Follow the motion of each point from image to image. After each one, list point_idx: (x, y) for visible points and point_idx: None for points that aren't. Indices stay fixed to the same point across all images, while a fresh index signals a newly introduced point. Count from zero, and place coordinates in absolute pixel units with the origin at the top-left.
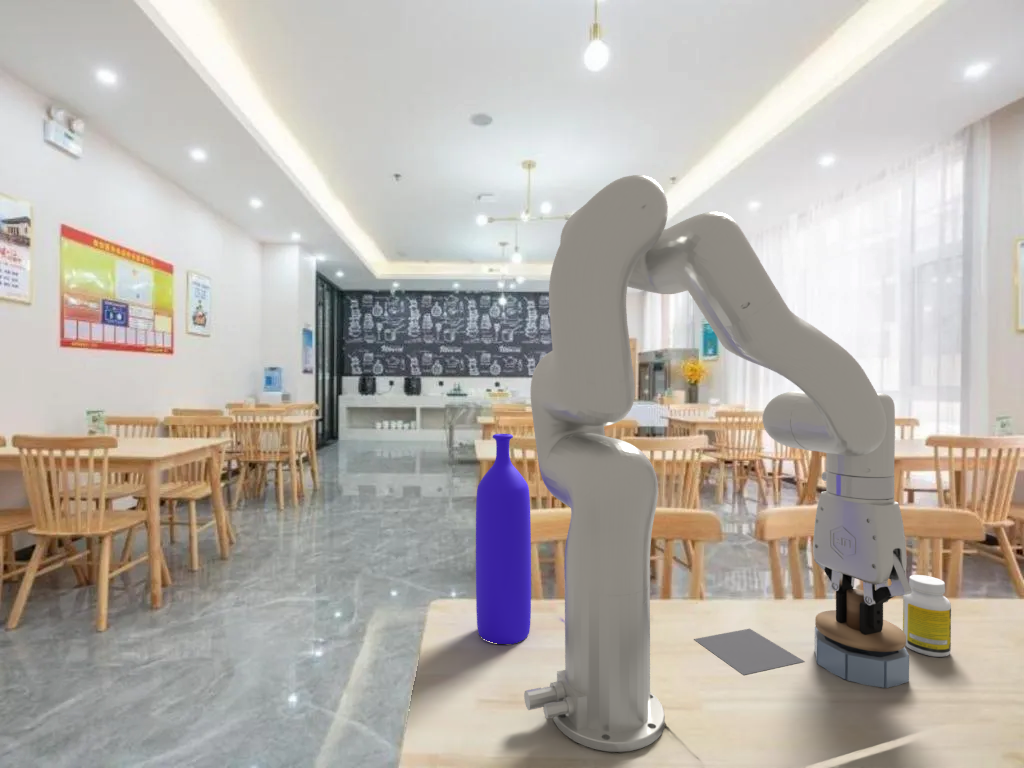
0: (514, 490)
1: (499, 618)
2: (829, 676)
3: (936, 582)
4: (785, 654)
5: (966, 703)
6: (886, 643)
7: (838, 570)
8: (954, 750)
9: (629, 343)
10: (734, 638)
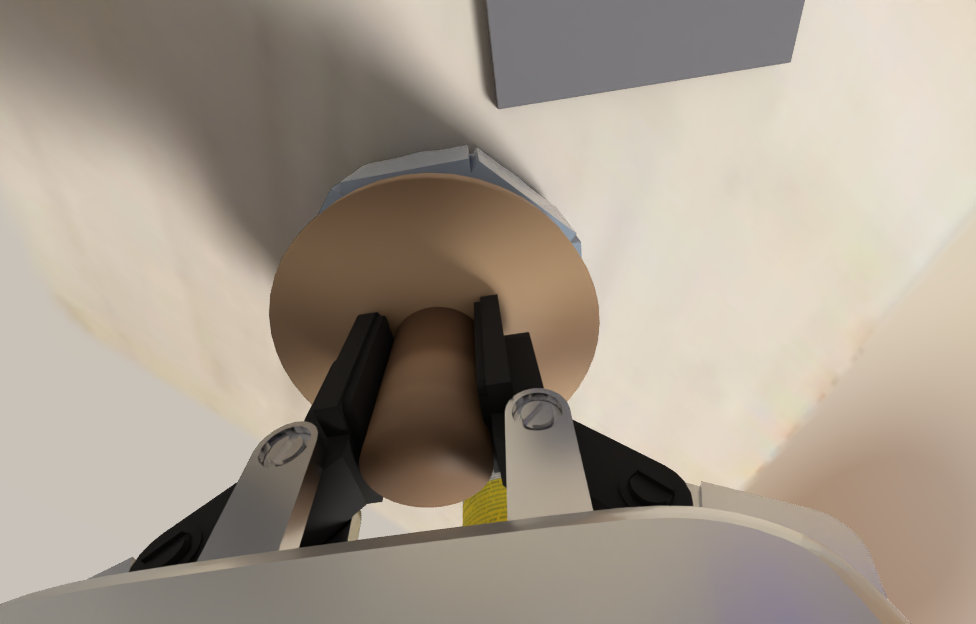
0: None
1: None
2: (422, 149)
3: None
4: (561, 64)
5: (284, 387)
6: (288, 340)
7: (396, 545)
8: (49, 210)
9: None
10: None
